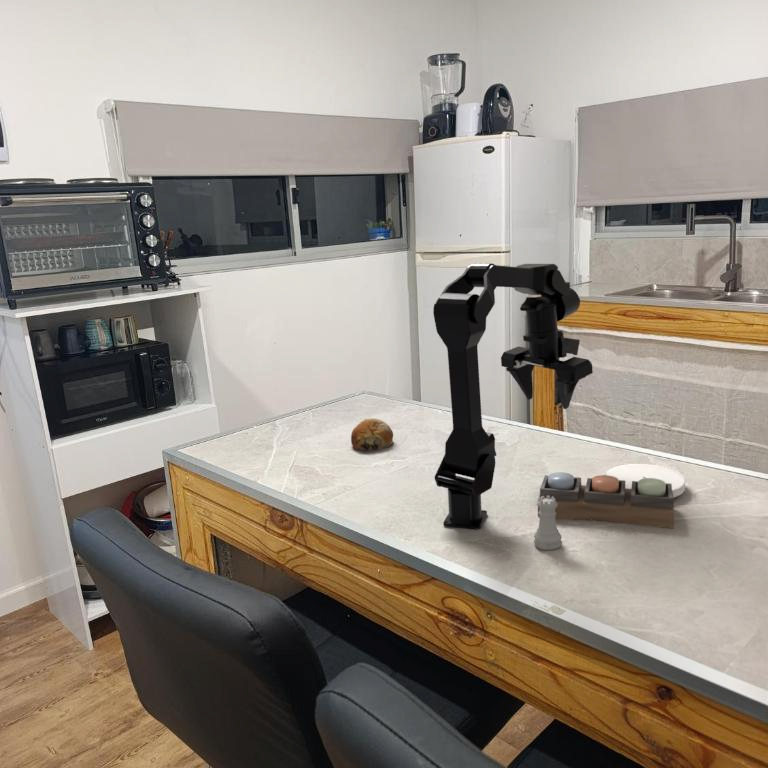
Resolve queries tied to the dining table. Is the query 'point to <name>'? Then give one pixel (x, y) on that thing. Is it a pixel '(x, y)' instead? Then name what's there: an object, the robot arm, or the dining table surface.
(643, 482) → the sage button
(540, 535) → the rook chess piece
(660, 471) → the plastic lid
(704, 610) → the dining table surface
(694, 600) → the dining table surface
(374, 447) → the bread roll
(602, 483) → the terracotta button
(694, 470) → the dining table surface
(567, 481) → the slate-blue button
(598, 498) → the button panel
